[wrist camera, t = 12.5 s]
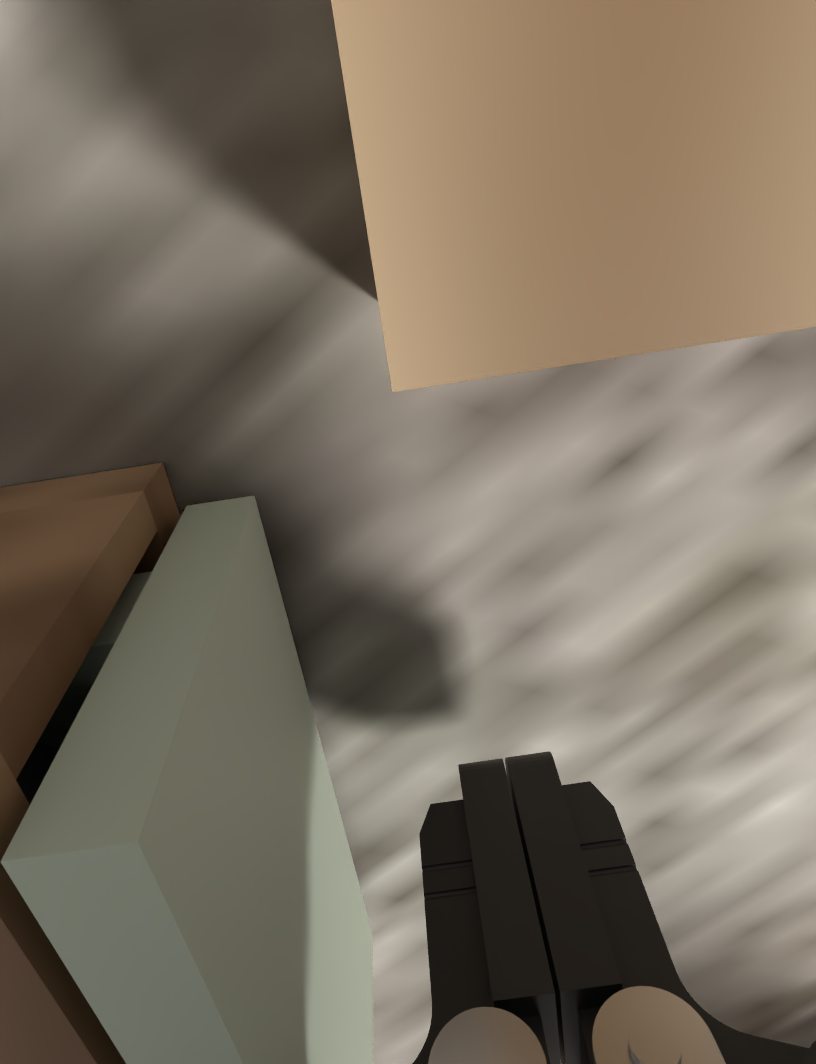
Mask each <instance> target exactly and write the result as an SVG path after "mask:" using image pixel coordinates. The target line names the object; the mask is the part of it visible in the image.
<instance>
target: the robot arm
mask: <svg viewBox="0 0 816 1064" xmlns="http://www.w3.org/2000/svg"><path fill="white" fill-rule="evenodd" d="M505 764H506V771H505V767H504V763H503V759H495V760H488V761H481V762H474V763H467V764H460V765H458V766H459V773H460V780H461V787H462V794H463V800H457V801H450V802H442V803H435V804H430V807H429V810H428V812H427V815H426V818H425V821H424V823H423V826H422V829H421V831H420V847H421V861H422V870H423V873H422V874H423V887H424V897H425V900H424V901H425V914H426V928H427V941H428V955H429V968H430V981H431V995H432V1019H431V1026H430V1030H429V1033H428V1037H427V1039H426V1042H425V1044H424V1046H423V1049H422V1050H421V1052H420V1054H419V1055H418V1057H417V1058H416V1060H415V1061H414V1062H413V1064H816V1041H815V1042H814V1043H813V1044H812V1045H811V1047H810V1048H804V1047H800V1046H795V1045H791V1044H787V1043H782V1042H778V1041H773V1040H769V1039H765V1038H760V1037H756V1036H752V1035H748V1034H745V1033H742V1032H739V1031H737V1030H734V1029H732V1028H730V1027H728V1026H726V1025H724V1024H723V1023H721V1022H719V1021H718V1020H716V1019H715V1018H713V1017H712V1016H711V1015H709V1014H708V1013H707V1012H706V1011H704V1010H703V1009H702V1008H701V1007H700V1006H699V1005H698V1004H697V1003H696V1002H695V1001H694V999H693V998H692V997H691V996H690V994H689V993H688V992H687V991H686V989H685V987H684V986H683V984H682V983H681V981H680V979H679V977H678V974H677V972H676V970H675V967H674V965H673V962H672V959H671V957H670V954H669V952H668V949H667V946H666V944H665V941H664V938H663V936H662V933H661V930H660V928H659V925H658V922H657V920H656V917H655V915H654V912H653V909H652V907H651V904H650V901H649V899H648V896H647V893H646V891H645V888H644V885H643V883H642V880H641V877H640V875H639V872H638V871H637V869H636V865H635V862H634V859H633V856H632V854H631V851H630V848H629V846H628V844H627V843H626V838H625V835H624V832H623V830H622V827H621V825H620V822H619V819H618V817H617V814H616V811H615V809H614V806H613V805H612V804H611V803H610V802H609V801H608V800H607V799H606V798H605V797H604V796H603V795H602V793H601V792H600V791H599V790H598V789H597V788H596V787H595V786H594V785H593V784H592V783H591V782H583V783H576V784H568V785H561V782H560V779H559V776H558V772H557V769H556V766H555V763H554V759H553V757H552V754H551V752H542V753H535V754H528V755H521V756H514V757H507V758H505ZM506 774H507V775H506ZM560 1060H561V1062H560Z"/></svg>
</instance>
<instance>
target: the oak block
mask: <svg viewBox="0 0 816 1064" xmlns="http://www.w3.org/2000/svg"><path fill="white" fill-rule="evenodd" d="M331 4H332V10H333V17H334V23H335V30H336V36H337V42H338V49H339V55H340V61H341V68H342V74H343V81H344V87H345V93H346V100H347V106H348V113H349V119H350V125H351V132H352V138H353V144H354V151H355V157H356V164H357V170H358V176H359V183H360V189H361V196H362V202H363V208H364V215H365V221H366V227H367V234H368V240H369V247H370V253H371V259H372V266H373V272H374V278H375V285H376V291H377V298H378V304H379V310H380V317H381V323H382V330H383V336H384V342H385V349H386V355H387V361H388V368H389V374H390V381H391V387H392V392H397V391H403V390H410V389H416V388H423V387H429V386H436V385H442V384H449V383H455V382H461V381H468V380H474V379H481V378H487V377H494V376H500V375H507V374H513V373H520V372H526V371H533V370H539V369H546V368H552V367H559V366H565V365H572V364H578V363H585V362H591V361H597V360H604V359H610V358H617V357H623V356H630V355H636V354H643V353H649V352H656V351H662V350H669V349H675V348H682V347H688V346H695V345H701V344H708V343H714V342H721V341H727V340H734V339H740V338H746V337H753V336H759V335H766V334H772V333H779V332H785V331H792V330H798V329H805V328H811V327H816V0H331Z"/></svg>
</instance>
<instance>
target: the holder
mask: <svg viewBox="0 0 816 1064" xmlns="http://www.w3.org/2000/svg"><path fill="white" fill-rule="evenodd" d="M179 519H180V514H179V510H178V507H177V504H176V501H175V498H174V495H173V492H172V489H171V486H170V483H169V480H168V477H167V474H166V471H165V468H164V465H163V463H156V464H150V465H143V466H137V467H130V468H124V469H117V470H111V471H104V472H97V473H91V474H84V475H78V476H71V477H65V478H58V479H52V480H45V481H39V482H32V483H26V484H19V485H13V486H6V487H0V1064H126V1063H125V1061H124V1059H123V1058H122V1056H121V1055H120V1053H119V1051H118V1050H117V1048H116V1047H115V1045H114V1043H113V1042H112V1040H111V1039H110V1037H109V1035H108V1034H107V1032H106V1030H105V1029H104V1027H103V1026H102V1024H101V1022H100V1021H99V1019H98V1018H97V1016H96V1014H95V1013H94V1011H93V1010H92V1008H91V1006H90V1005H89V1003H88V1002H87V1000H86V998H85V997H84V995H83V994H82V992H81V990H80V989H79V987H78V986H77V984H76V982H75V981H74V979H73V978H72V976H71V974H70V973H69V971H68V970H67V968H66V966H65V965H64V963H63V962H62V960H61V958H60V957H59V955H58V953H57V952H56V950H55V949H54V947H53V945H52V944H51V942H50V941H49V939H48V937H47V936H46V934H45V933H44V931H43V929H42V928H41V926H40V925H39V923H38V921H37V920H36V918H35V917H34V915H33V913H32V912H31V910H30V909H29V907H28V905H27V904H26V902H25V901H24V899H23V897H22V896H21V894H20V893H19V891H18V889H17V888H16V886H15V885H14V883H13V881H12V880H11V878H10V876H9V875H8V873H7V872H6V870H5V868H4V867H3V865H2V864H1V860H2V858H3V856H4V854H5V852H6V850H7V848H8V846H9V844H10V842H11V841H12V839H13V837H14V835H15V833H16V831H17V829H18V827H19V825H20V823H21V821H22V820H23V818H24V816H25V814H26V812H27V810H28V808H29V806H30V804H29V803H28V801H27V799H26V797H25V795H24V794H23V792H22V790H21V788H20V787H19V785H18V783H17V781H16V779H17V777H18V775H19V774H20V772H21V770H22V768H23V766H24V765H25V763H26V761H27V759H28V758H29V756H30V754H31V752H32V751H33V749H34V747H35V745H36V744H37V742H38V740H39V738H40V737H41V735H42V733H43V731H44V729H45V728H46V726H47V724H48V722H49V721H50V719H51V717H52V715H53V714H54V712H55V710H56V708H57V707H58V705H59V703H60V701H61V699H62V698H63V696H64V694H65V692H66V691H67V689H68V687H69V685H70V684H71V682H72V680H73V678H74V677H75V675H76V673H77V671H78V670H79V668H80V666H81V664H82V662H83V661H84V659H85V657H86V655H87V654H88V652H89V650H90V648H91V647H92V645H93V643H94V641H95V640H96V638H97V636H98V634H99V632H100V631H101V629H102V627H103V625H104V624H105V622H106V620H107V618H108V617H109V615H110V613H111V611H112V610H113V608H114V606H115V604H116V603H117V601H118V599H119V597H120V595H121V594H122V592H123V590H124V588H125V587H126V585H127V583H128V581H129V580H130V578H131V576H132V574H138V573H145V572H151V571H153V569H154V567H155V565H156V563H157V561H158V559H159V558H160V556H161V554H162V552H163V550H164V548H165V546H166V544H167V542H168V540H169V538H170V537H171V535H172V533H173V531H174V529H175V527H176V525H177V523H178V521H179Z"/></svg>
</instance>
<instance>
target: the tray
mask: <svg viewBox="0 0 816 1064" xmlns="http://www.w3.org/2000/svg"><path fill="white" fill-rule="evenodd" d="M38 743H42V744H46V745H48V746H51V747H54V748H57V749H59V751H58V753H57V754H56V756H55V758H54V760H53V762H52V764H51V766H50V768H49V770H48V772H47V774H46V776H45V777H44V779H43V781H42V783H41V785H40V787H39V789H38V791H37V793H36V795H35V797H34V798H33V800H32V802H31V804H30V806H29V808H28V810H27V812H26V814H25V816H24V818H23V820H22V821H21V823H20V825H19V827H18V829H17V831H16V833H15V835H14V837H13V839H12V841H11V842H10V844H9V846H8V848H7V850H6V852H5V854H4V856H3V858H2V860H1V864H2V865H3V867H4V868H5V870H6V872H7V873H8V875H9V876H10V878H11V880H12V881H13V883H14V885H15V886H16V888H17V889H18V891H19V893H20V894H21V896H22V897H23V899H24V901H25V902H26V904H27V905H28V907H29V909H30V910H31V912H32V913H33V915H34V917H35V918H36V920H37V921H38V923H39V925H40V926H41V928H42V929H43V931H44V933H45V934H46V936H47V937H48V939H49V941H50V942H51V944H52V945H53V947H54V949H55V950H56V952H57V953H58V955H59V957H60V958H61V960H62V962H63V963H64V965H65V966H66V968H67V970H68V971H69V973H70V974H71V976H72V978H73V979H74V981H75V982H76V984H77V986H78V987H79V989H80V990H81V992H82V994H83V995H84V997H85V998H86V1000H87V1002H88V1003H89V1005H90V1006H91V1008H92V1010H93V1011H94V1013H95V1014H96V1016H97V1018H98V1019H99V1021H100V1022H101V1024H102V1026H103V1027H104V1029H105V1030H106V1032H107V1034H108V1035H109V1037H110V1039H111V1040H112V1042H113V1043H114V1045H115V1047H116V1048H117V1050H118V1051H119V1053H120V1055H121V1056H122V1058H123V1059H124V1061H125V1063H126V1064H373V942H372V930H371V926H370V922H369V919H368V915H367V911H366V907H365V904H364V900H363V896H362V893H361V889H360V885H359V881H358V878H357V874H356V870H355V867H354V863H353V859H352V855H351V852H350V848H349V844H348V841H347V837H346V833H345V830H344V826H343V822H342V818H341V815H340V811H339V807H338V804H337V800H336V796H335V792H334V789H333V785H332V781H331V778H330V774H329V770H328V766H327V763H326V759H325V755H324V752H323V748H322V744H321V741H320V737H319V733H318V729H317V726H316V722H315V718H314V715H313V711H312V707H311V703H310V700H309V696H308V692H307V689H306V685H305V681H304V677H303V674H302V670H301V666H300V663H299V659H298V655H297V651H296V648H295V644H294V640H293V637H292V633H291V629H290V626H289V622H288V618H287V614H286V611H285V607H284V603H283V600H282V596H281V592H280V588H279V585H278V581H277V577H276V574H275V570H274V566H273V562H272V559H271V555H270V551H269V548H268V544H267V540H266V537H265V533H264V529H263V525H262V522H261V518H260V514H259V511H258V507H257V503H256V499H255V496H247V497H241V498H234V499H228V500H221V501H215V502H208V503H201V504H195V505H188V506H186V508H185V510H184V512H183V514H182V515H181V517H180V519H179V521H178V523H177V525H176V527H175V529H174V531H173V533H172V535H171V537H170V538H169V540H168V542H167V544H166V546H165V548H164V550H163V552H162V554H161V556H160V558H159V559H158V561H157V563H156V565H155V567H154V569H153V571H151V572H145V573H138V574H132V576H131V578H130V580H129V581H128V583H127V585H126V587H125V588H124V590H123V592H122V594H121V595H120V597H119V599H118V601H117V603H116V604H115V606H114V608H113V610H112V611H111V613H110V615H109V617H108V618H107V620H106V622H105V624H104V625H103V627H102V629H101V631H100V632H99V634H98V636H97V638H96V640H95V641H94V643H93V645H92V647H91V648H90V650H89V652H88V654H87V655H86V657H85V659H84V661H83V662H82V664H81V666H80V668H79V670H78V671H77V673H76V675H75V677H74V678H73V680H72V682H71V684H70V685H69V687H68V689H67V691H66V692H65V694H64V696H63V698H62V699H61V701H60V703H59V705H58V707H57V708H56V710H55V712H54V714H53V715H52V717H51V719H50V721H49V722H48V724H47V726H46V728H45V729H44V731H43V733H42V735H41V737H40V738H39V740H38Z"/></svg>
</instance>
